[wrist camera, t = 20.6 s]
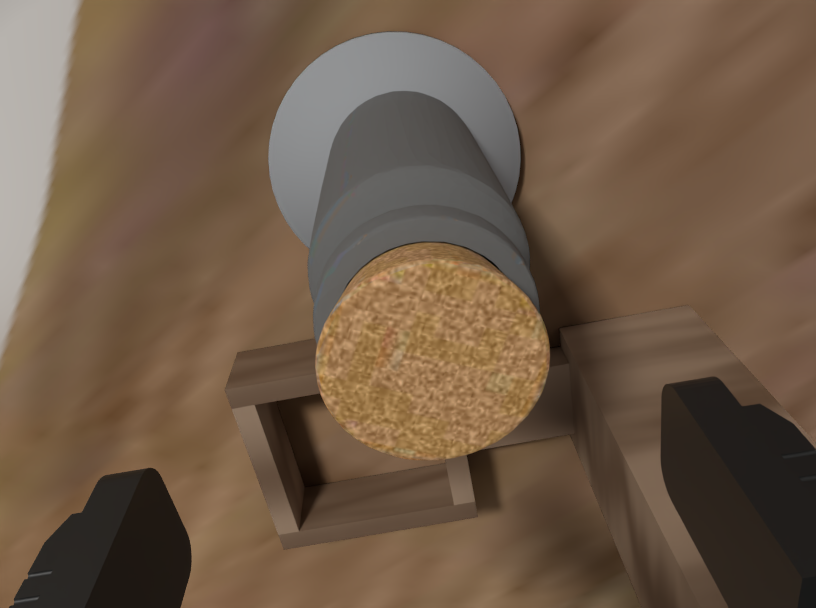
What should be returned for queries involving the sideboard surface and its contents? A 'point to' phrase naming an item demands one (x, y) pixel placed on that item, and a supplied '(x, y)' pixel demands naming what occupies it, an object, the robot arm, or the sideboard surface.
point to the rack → (550, 417)
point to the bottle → (421, 286)
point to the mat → (364, 79)
